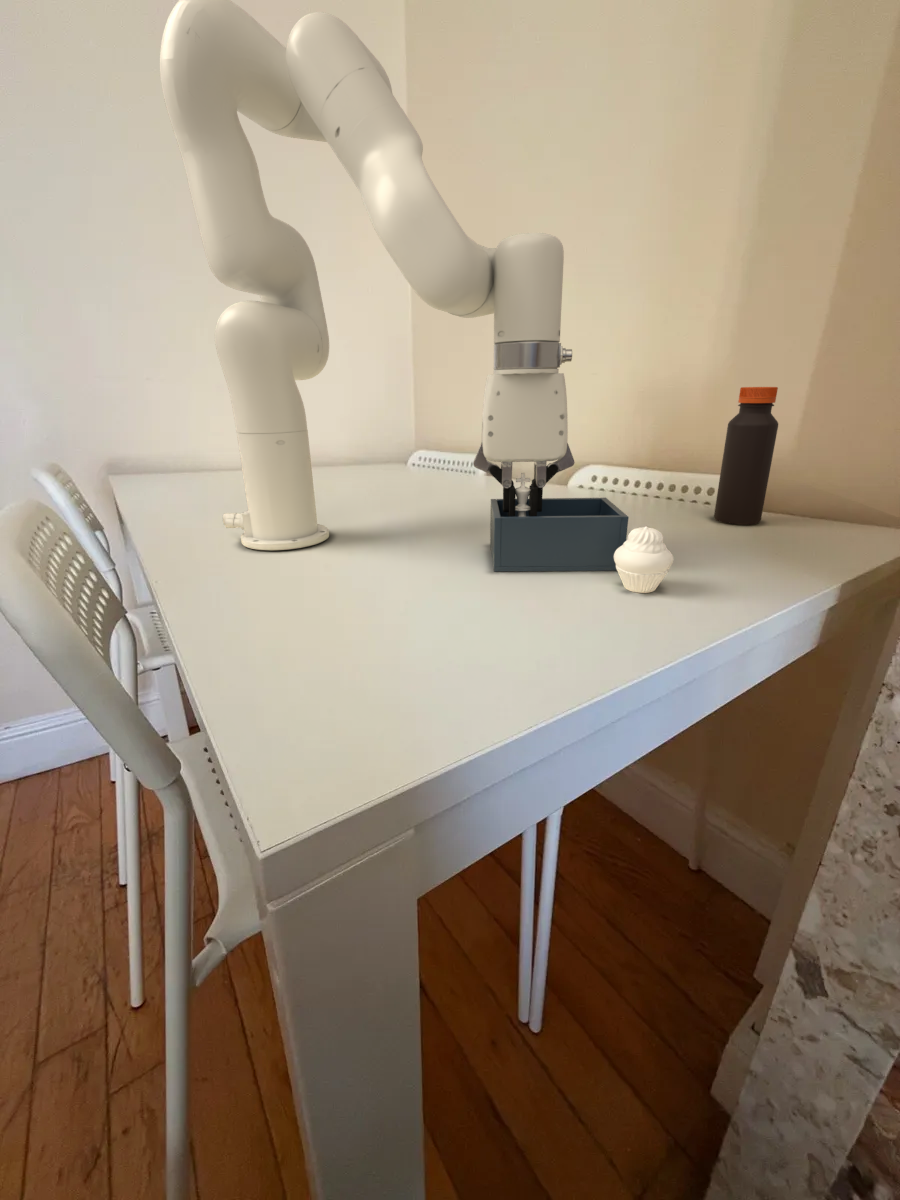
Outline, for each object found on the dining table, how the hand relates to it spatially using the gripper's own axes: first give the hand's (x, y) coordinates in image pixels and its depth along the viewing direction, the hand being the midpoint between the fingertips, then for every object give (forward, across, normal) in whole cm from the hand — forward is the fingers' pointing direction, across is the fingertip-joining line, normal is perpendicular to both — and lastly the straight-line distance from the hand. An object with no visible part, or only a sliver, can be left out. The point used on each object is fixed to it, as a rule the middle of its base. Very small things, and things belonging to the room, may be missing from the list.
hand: (521, 516), depth 72 cm
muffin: (+6, -12, +12) cm, 18 cm away
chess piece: (+5, 0, 0) cm, 5 cm away
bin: (+5, -4, 0) cm, 7 cm away
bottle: (+6, -36, -19) cm, 41 cm away
